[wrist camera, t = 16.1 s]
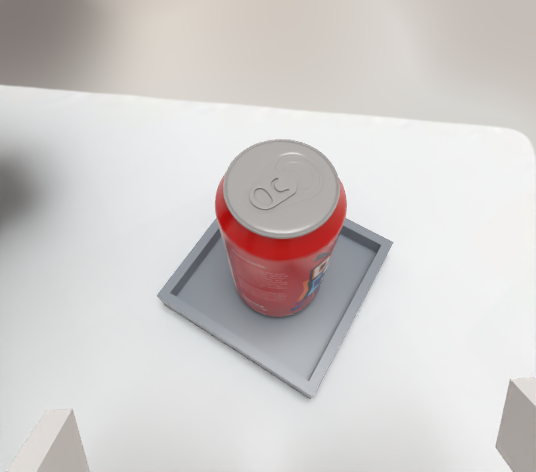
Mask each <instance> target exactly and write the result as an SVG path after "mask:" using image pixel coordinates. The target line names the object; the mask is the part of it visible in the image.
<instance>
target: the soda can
mask: <svg viewBox="0 0 536 472" xmlns="http://www.w3.org/2000/svg"><path fill="white" fill-rule="evenodd" d="M346 208H347V203H346V195H345V191H344V188H343V185H342V183H341V181H340V179H339V178H338V175H337V172H336V170H335V168H334V166H333V165H332V163H331V162H330V161H329V160H328V159H327V157H326V156H324V155H323V154H322V153H321V152H320V151H318V150H317V149H315V148H313V147H311V146H309V145H307V144H305V143H302V142H298V141H294V140H286V139H276V140H268V141H264V142H260V143H257V144H255V145H253V146H251V147H249V148H247V149H245V150H244V151H243V152H241V153H240V154H239V155H238V156H237V157H236V158H235V159H234V160H233V161H232V163H231V164H230V166H229V168H228V170H227V172H226V173H225V175H224V176H223V178H222V180H221V182H220V184H219V186H218V189H217V193H216V200H215V211H216V217H217V221H218V225H219V229H220V233H221V237H222V240H223V244H224V248H225V252H226V255H227V259H228V263H229V267H230V270H231V274H232V278H233V282H234V285H235V288H236V290H237V292H238V294H239V296H240V297H241V299H242V300H243V301H244V302H245V303H246V304H247V305H248V306H249V307H250V308H251V309H253V310H254V311H256V312H258V313H261V314H263V315H267V316H272V317H284V316H289V315H293V314H295V313H297V312H299V311H301V310H303V309H304V308H306V307H307V306H308V305H309V304H310V303H311V302H312V301H313V300H314V298H315V297H316V295H317V293H318V291H319V289H320V287H321V284H322V281H323V279H324V276H325V273H326V270H327V268H328V265H329V262H330V260H331V257H332V254H333V252H334V249H335V246H336V243H337V241H338V238H339V235H340V233H341V230H342V227H343V224H344V221H345V217H346Z"/></svg>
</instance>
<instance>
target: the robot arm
mask: <svg viewBox="0 0 536 472" xmlns="http://www.w3.org/2000/svg"><path fill="white" fill-rule="evenodd" d="M496 449H497V450H498V452H499V453H500V454H501V456H502V457H503V459H504V460H505V461H506V463H507V464H508V466H509V467H510V468H511V470H512V471H513V472H536V378H535V377H533V378H519V379H510V382H509V387H508V391H507V396H506V401H505V405H504V410H503V414H502V419H501V424H500V428H499V433H498V438H497V442H496ZM6 472H90V471H89V467H88V464H87V460H86V456H85V453H84V449H83V445H82V442H81V438H80V435H79V431H78V427H77V424H76V420H75V416H74V413H73V409H64V410H49V411H45V413H44V414H43V416H42V417H41V419H40V420H39V422H38V424H37V425H36V427H35V428H34V430H33V431H32V433H31V434H30V436H29V437H28V439H27V440H26V442H25V443H24V445H23V446H22V448H21V449H20V451H19V452H18V454H17V456H16V457H15V459H14V460H13V462H12V463H11V465H10V466H9V468H8V469H7V471H6Z"/></svg>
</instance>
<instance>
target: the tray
mask: <svg viewBox="0 0 536 472" xmlns="http://www.w3.org/2000/svg"><path fill="white" fill-rule="evenodd" d="M392 244H393V242H392V241H390V240H388V239H386V238H384V237H382V236H380V235H378V234H376V233H374V232H372V231H370V230H368V229H366V228H364V227H362V226H360V225H358V224H356V223H354V222H352V221H350V220H348V219H346V218H345V221H344V224H343V227H342V230H341V233H340V235H339V238H338V241H337V243H336V246H335V249H334V252H333V254H332V257H331V260H330V262H329V265H328V268H327V270H326V273H325V276H324V279H323V281H322V284H321V287H320V289H319V291H318V293H317V295H316V297H315V298H314V300H313V301H312V302H311V303H310V304H309V305H308V306H307V307H306V308H304V309H303V310H301V311H299V312H297V313H295V314H293V315H289V316H284V317H272V316H267V315H263V314H261V313H258V312H256V311H254V310H253V309H251V308H250V307H249V306H248V305H247V304H246V303H245V302H244V301H243V300H242V299H241V297H240V296H239V294H238V292H237V290H236V288H235V285H234V282H233V278H232V274H231V270H230V267H229V263H228V259H227V255H226V252H225V248H224V244H223V240H222V237H221V233H220V229H219V225H218V221H217V218H216V219H215V221H214V222H213V223H212V225H211V226H210V227H209V228H208V230H207V231H206V232H205V234H204V235H203V236H202V238H201V239H200V240H199V241H198V243H197V244H196V245H195V247H194V248H193V249H192V251H191V252H190V253H189V254H188V256H187V257H186V258H185V260H184V261H183V262H182V264H181V265H180V266H179V267H178V269H177V270H176V271H175V273H174V274H173V275H172V277H171V278H170V279H169V280H168V282H167V283H166V284H165V286H164V287H163V288H162V290H161V291H160V292H159V293H158V295H157V297H158V298H159V299H160V300H161V301H162V302H163V303H164V304H165V305H166V306H168V307H170V308H171V309H173V310H174V311H176V312H177V313H179V314H180V315H182V316H183V317H185V318H186V319H188V320H190V321H191V322H193V323H194V324H196V325H197V326H199V327H200V328H202V329H203V330H205V331H207V332H208V333H210V334H211V335H213V336H214V337H216V338H217V339H219V340H220V341H222V342H223V343H225V344H227V345H228V346H230V347H231V348H233V349H234V350H236V351H237V352H239V353H240V354H242V355H243V356H245V357H247V358H248V359H250V360H251V361H253V362H254V363H256V364H257V365H259V366H260V367H262V368H264V369H265V370H267V371H268V372H270V373H271V374H273V375H274V376H276V377H277V378H279V379H280V380H282V381H284V382H285V383H287V384H288V385H290V386H291V387H293V388H294V389H296V390H297V391H299V392H300V393H302V394H304V395H305V396H307V397H308V398H312V397H313V396H314V394H315V392H316V390H317V389H318V387H319V385H320V383H321V381H322V379H323V377H324V375H325V373H326V371H327V369H328V367H329V365H330V363H331V362H332V360H333V358H334V356H335V354H336V352H337V350H338V348H339V346H340V344H341V342H342V340H343V338H344V336H345V335H346V333H347V331H348V329H349V327H350V325H351V323H352V321H353V319H354V317H355V315H356V313H357V311H358V309H359V308H360V306H361V304H362V302H363V300H364V298H365V296H366V294H367V292H368V290H369V288H370V286H371V284H372V282H373V281H374V279H375V277H376V275H377V273H378V271H379V269H380V267H381V265H382V263H383V261H384V259H385V257H386V255H387V254H388V252H389V250H390V248H391V246H392Z"/></svg>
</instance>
